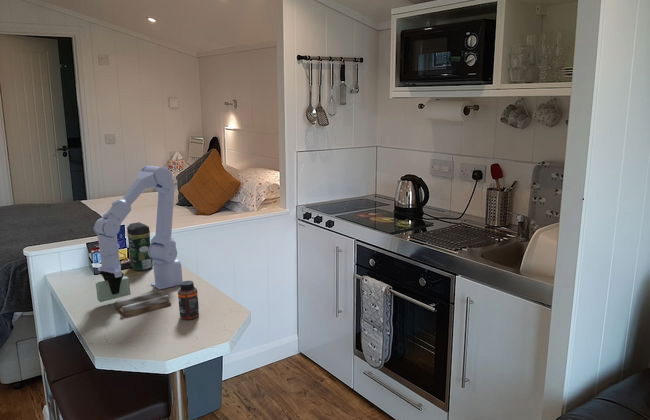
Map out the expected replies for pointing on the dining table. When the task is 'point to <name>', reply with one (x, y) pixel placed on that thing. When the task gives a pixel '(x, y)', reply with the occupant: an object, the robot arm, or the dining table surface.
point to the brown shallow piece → (142, 303)
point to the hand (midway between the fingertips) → (113, 292)
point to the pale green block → (105, 291)
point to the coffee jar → (139, 246)
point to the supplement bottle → (188, 300)
